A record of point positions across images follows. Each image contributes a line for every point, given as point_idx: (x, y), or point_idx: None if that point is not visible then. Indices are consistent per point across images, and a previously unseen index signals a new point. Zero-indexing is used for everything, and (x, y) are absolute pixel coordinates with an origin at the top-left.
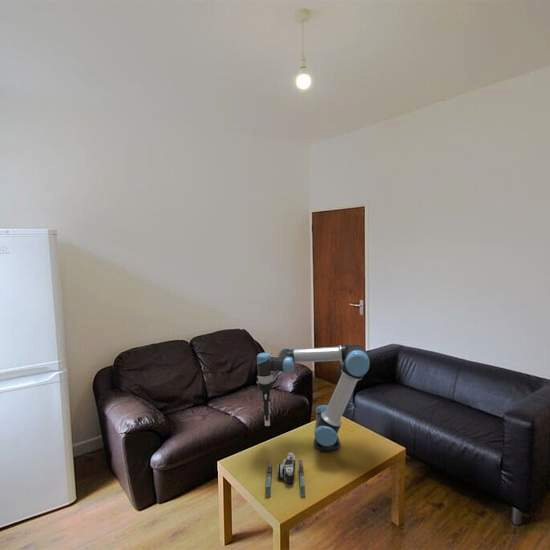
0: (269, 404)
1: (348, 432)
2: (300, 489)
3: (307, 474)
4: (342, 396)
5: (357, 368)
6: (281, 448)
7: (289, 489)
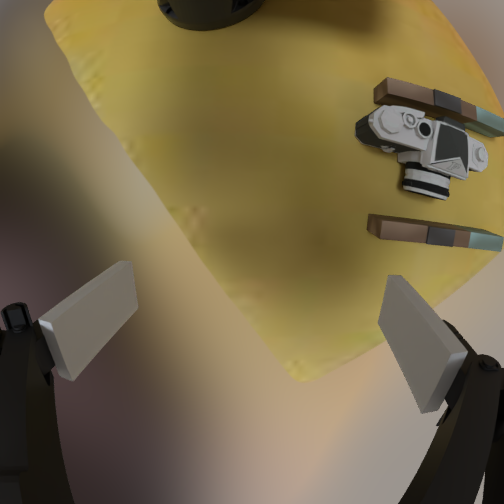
0: (71, 311)
1: None
2: (489, 132)
3: None
4: None
5: None
6: (215, 162)
7: None
